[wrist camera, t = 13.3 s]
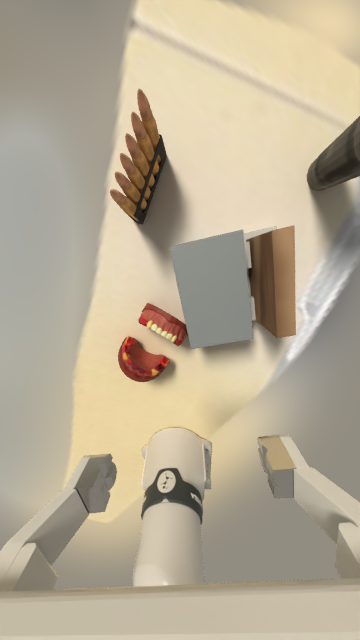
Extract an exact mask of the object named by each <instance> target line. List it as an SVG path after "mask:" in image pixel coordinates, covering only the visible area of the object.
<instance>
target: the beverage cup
mask: <svg viewBox="0 0 360 640" xmlns="http://www.w3.org/2000/svg"><path fill="white" fill-rule="evenodd" d="M358 176H360V116H359V117H358V118H357V119H356V120H355V121H354V122H353V123H352V124H351V125H350V126H349V127H348V128H347V129H346V130H345V131H344V132H343V133H342V134H341V135H340V136H339V137H338V138H337V139H336V140H335V141H334V142H333V143H331V144H330V145H329V146H328V147H327V148H326V149H325V150H324V151H323V152H322V153H321V154H320V155H319V157H318V158H317V159H316V160H315V161H314V162H313V163H312V164H311V166H310V168H309V170H308V174H307V181H308V184H309V185H310V187H311V188H313V189H315V190H323V189H326V188H329V187H332V186H335V185H338V184H340V183H343V182H345V181H348V180H350V179H353V178H356V177H358Z"/></svg>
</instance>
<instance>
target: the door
mask: <svg viewBox="0 0 360 640" xmlns="http://www.w3.org/2000/svg"><path fill="white" fill-rule="evenodd" d="M246 242H249V244H250V256H251V268H249V280H250V291H251V296H252V297H254V304H255V316H256V320H257V321H258V322H259V323H260V324H262V325H263V326H264V327H265V328H266V329H267V330H268V331H270V332H271V333H272V334H273V335H274V336H275V337H276V338H281V337H287V336H293V335H296V320H295V237H294V226H290V227H285V228H281V229H277V230H272V231H269V232H267V233H264V234H261V235H258V236H255V237H253V238H250V239H247V240H246Z"/></svg>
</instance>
